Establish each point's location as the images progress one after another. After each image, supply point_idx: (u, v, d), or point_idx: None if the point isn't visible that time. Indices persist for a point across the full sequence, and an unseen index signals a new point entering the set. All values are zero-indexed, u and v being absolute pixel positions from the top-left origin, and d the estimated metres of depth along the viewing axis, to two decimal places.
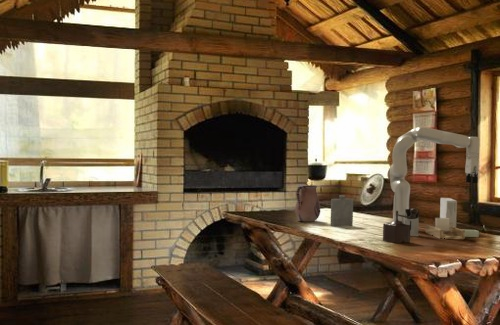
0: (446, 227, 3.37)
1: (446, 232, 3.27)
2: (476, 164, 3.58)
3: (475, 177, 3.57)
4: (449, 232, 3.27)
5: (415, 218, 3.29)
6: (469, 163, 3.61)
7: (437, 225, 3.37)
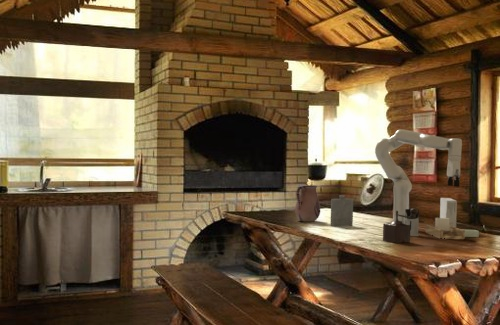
0: (446, 227, 3.37)
1: (446, 232, 3.27)
2: (458, 167, 3.45)
3: (457, 180, 3.44)
4: (449, 232, 3.26)
5: (415, 218, 3.29)
6: (451, 166, 3.47)
7: (437, 225, 3.37)
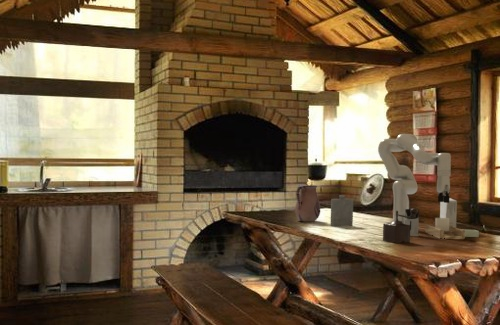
0: (446, 227, 3.37)
1: (446, 232, 3.27)
2: (448, 182, 3.33)
3: (447, 196, 3.32)
4: (449, 232, 3.26)
5: (415, 218, 3.29)
6: (440, 181, 3.36)
7: (437, 225, 3.37)
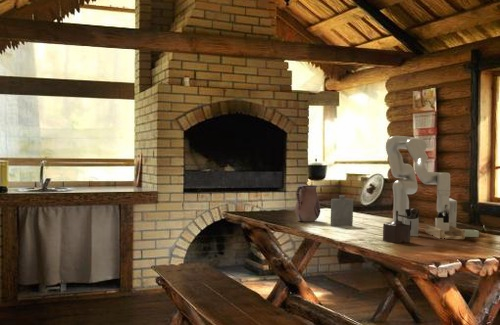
0: (446, 227, 3.37)
1: (446, 232, 3.27)
2: (447, 202, 3.33)
3: (446, 216, 3.32)
4: (449, 232, 3.27)
5: (415, 218, 3.29)
6: (440, 201, 3.35)
7: (437, 225, 3.37)
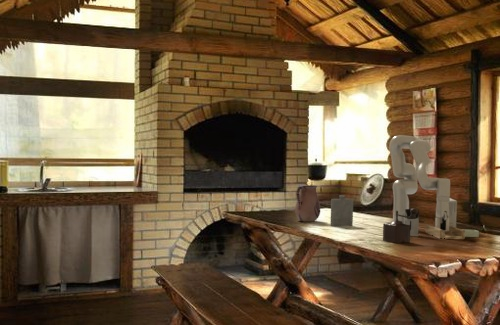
0: (446, 227, 3.37)
1: (446, 232, 3.27)
2: (446, 208, 3.33)
3: (443, 224, 3.35)
4: (449, 232, 3.27)
5: (415, 218, 3.29)
6: (439, 207, 3.36)
7: (437, 225, 3.37)
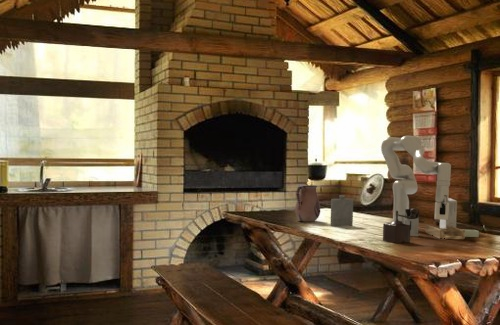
0: (446, 211, 3.37)
1: (446, 232, 3.27)
2: (446, 193, 3.33)
3: (443, 208, 3.36)
4: (449, 232, 3.27)
5: (415, 218, 3.29)
6: (439, 191, 3.36)
7: (437, 209, 3.38)
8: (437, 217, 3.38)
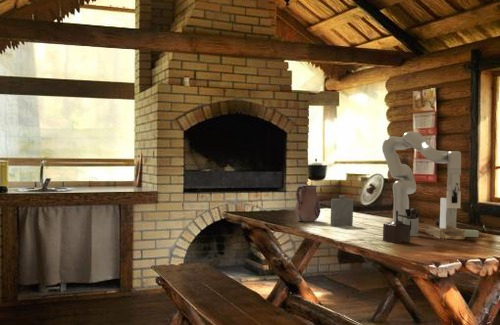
0: (457, 200, 3.36)
1: (446, 232, 3.27)
2: (458, 181, 3.32)
3: (455, 197, 3.35)
4: (449, 232, 3.27)
5: (415, 218, 3.29)
6: (450, 180, 3.35)
7: (448, 198, 3.36)
8: (449, 206, 3.36)
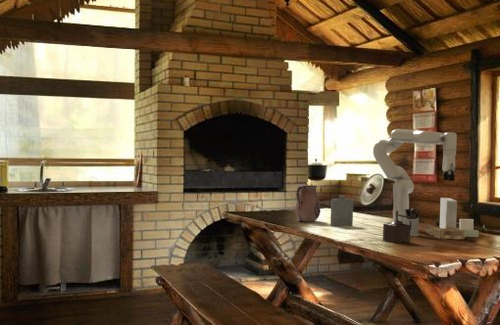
0: (470, 228, 3.35)
1: (446, 232, 3.27)
2: (453, 161, 3.42)
3: (452, 175, 3.41)
4: (450, 232, 3.27)
5: (415, 218, 3.29)
6: (446, 160, 3.44)
7: (461, 226, 3.35)
8: None
